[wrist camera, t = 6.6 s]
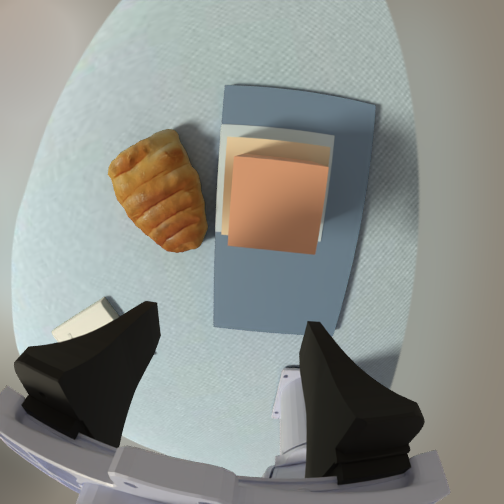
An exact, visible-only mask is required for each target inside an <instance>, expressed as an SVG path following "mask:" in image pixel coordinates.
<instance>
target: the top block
mask: <svg viewBox="0 0 504 504" xmlns="http://www.w3.org/2000/svg"><path fill="white" fill-rule="evenodd" d="M328 170H329V167H327V166H324V165H321V164H318V163H315V162H312V161H305V160H298V159H290V158H282V157H273V156H263V155H252V154H241V155H237V156H234V162H233V175H232V188H231V202H230V216H229V231H228V246H235V247H245V248H254V249H264V250H274V251H283V252H293V253H302V254H312V255H315V253H316V248H317V242H318V236H319V231H320V225H321V218H322V212H323V206H324V199H325V192H326V185H327V178H328Z"/></svg>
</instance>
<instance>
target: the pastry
mask: <svg viewBox="0 0 504 504" xmlns="http://www.w3.org/2000/svg"><path fill="white" fill-rule="evenodd" d="M108 175H109V177H110V178H111V180H112V183H113V187H114V191H115V195H116V197H117V200H118V201H119V203H120V204H121V205H122V206H123V208H124V209H125V211H126V213H127V215H128V217H129V218H130V219H131V220H132V221H133V222H134V223H135V225H136V226H137V227H138V228H140V229H141V230H142V231H143V232H144V234H145V235H147V236H149V237H150V238H151V239H153V240H154V241H155V242H156V243H157V244H158V245H160V246H161V247H162V248H163V249H165V250H166V251H169V252H176V253H178V252H184V251H188V250H191V249H196V248H198V247H199V246H200V245H201V244H202V242H203V239H204V236H205V234H206V231H207V229H208V224H207V221H206V214H205V201H204V199H203V195H202V192H201V184H200V178H199V175H198V173H197V171H196V170H195V169H194V168H193V167H192V166H191V164H190V160H189V158H188V155H187V152H186V151H185V149H184V147H183V146H182V144H181V143H180V139H179V135H178V133H177V132H176V131H174V130H172V129H166V130H162V131H159V132H157V133H155V134H153V135H152V136H150V137H148V138H146V139H144V140H141V141H139V142H138V143H136V144H135V145H132V146H131V147H129V148H128V149H126V150H124V151H122V152H121V153H120V154H119V155H118V156H117V157H116V159H114V160H113V161H112V162H111V164H110V166H109V169H108Z"/></svg>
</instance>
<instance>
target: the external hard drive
mask: <svg viewBox="0 0 504 504" xmlns="http://www.w3.org/2000/svg"><path fill="white" fill-rule="evenodd" d="M118 317H120V316H119V315H118V314H117V313H116V311H115V310H114V309H113V307H112V306H111V305H110V303H109V302H108V301H107V299H106V298H105V297H103V298H102V299H100V300H98V301H97V302H95V303H94V304H92V305H90V306H89V307H87V308H86V309H84V310H83V311H81V312H79V313H78V314H76V315H75V316H73V317H72V318H70V319H68V320H67V321H65V322H64V323H62V324H61V325H59V326H58V327H56V328H55V329H54V330H53V331H52V334H53V336H54V337H55V339H56V340H57V341H58V342H62V341H66V340H69V339H72V338H75V337H78V336H81V335H84V334H87V333H89V332H91V331H94V330H96V329H98V328H100V327H102V326H104V325H106V324H107V323H109V322H111V321H113V320H115V319H117V318H118Z"/></svg>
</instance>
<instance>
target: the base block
mask: <svg viewBox="0 0 504 504" xmlns="http://www.w3.org/2000/svg"><path fill="white" fill-rule="evenodd" d="M241 154H252V155H263V156H273V157H282V158H290V159H298V160H305V161H312V162H315V163H318V164H321V165H324V166H327V167H328V165H329V157H330V147H326V146H320V145H313V144H305V143H297V142H289V141H280V140H270V139H258V138H244V137H227V145H226V159H225V174H224V191H223V209H222V230H221V235H228V231H229V216H230V202H231V188H232V175H233V162H234V156H237V155H241ZM318 237H319V236H318ZM317 243H318V242H317Z"/></svg>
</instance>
